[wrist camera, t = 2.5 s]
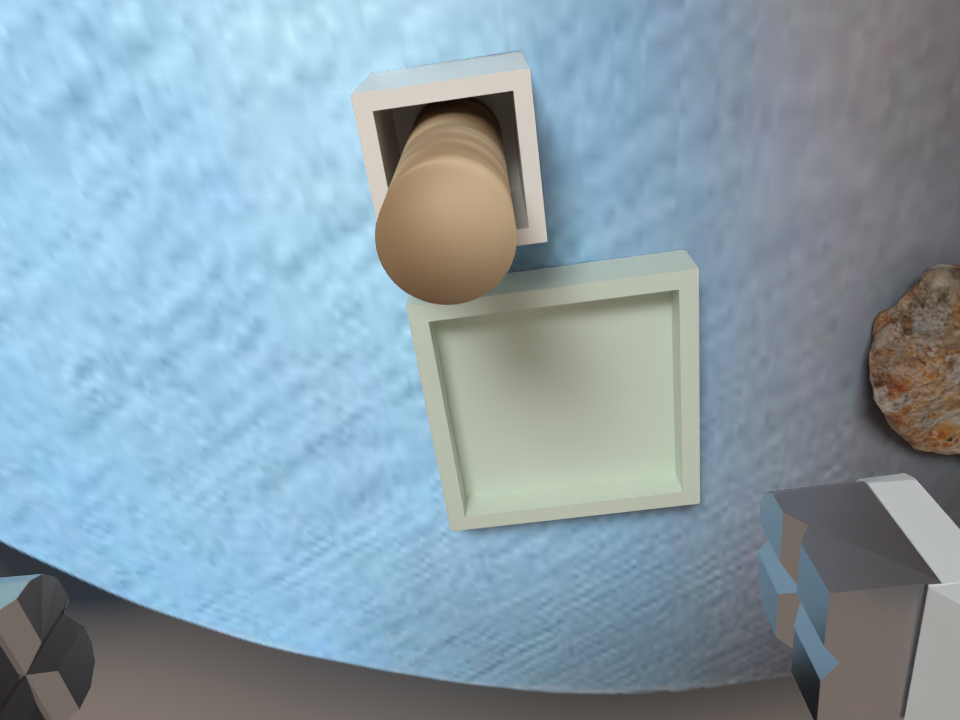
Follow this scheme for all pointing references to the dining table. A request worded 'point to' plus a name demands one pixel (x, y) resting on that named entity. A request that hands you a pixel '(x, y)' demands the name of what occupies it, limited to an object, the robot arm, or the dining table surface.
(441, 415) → the tray
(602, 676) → the dining table surface
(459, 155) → the dowel
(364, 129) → the pen cup
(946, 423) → the rock
